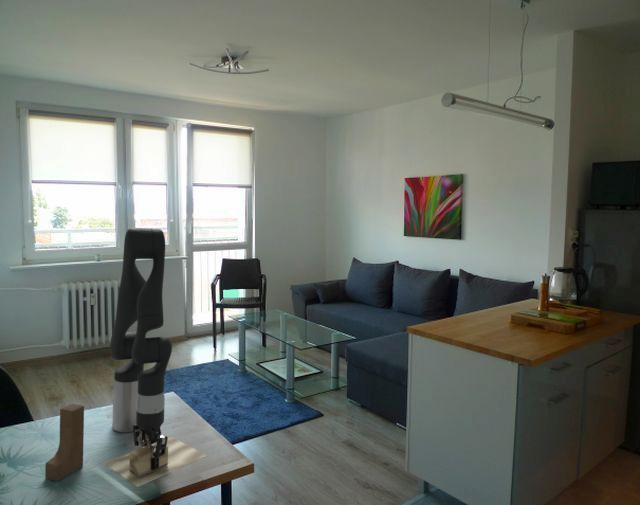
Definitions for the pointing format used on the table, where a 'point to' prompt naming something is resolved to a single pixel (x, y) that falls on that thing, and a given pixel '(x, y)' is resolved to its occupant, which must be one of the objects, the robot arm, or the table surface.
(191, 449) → the board
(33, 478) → the table surface
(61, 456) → the wooden block
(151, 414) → the robot arm
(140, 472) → the block
